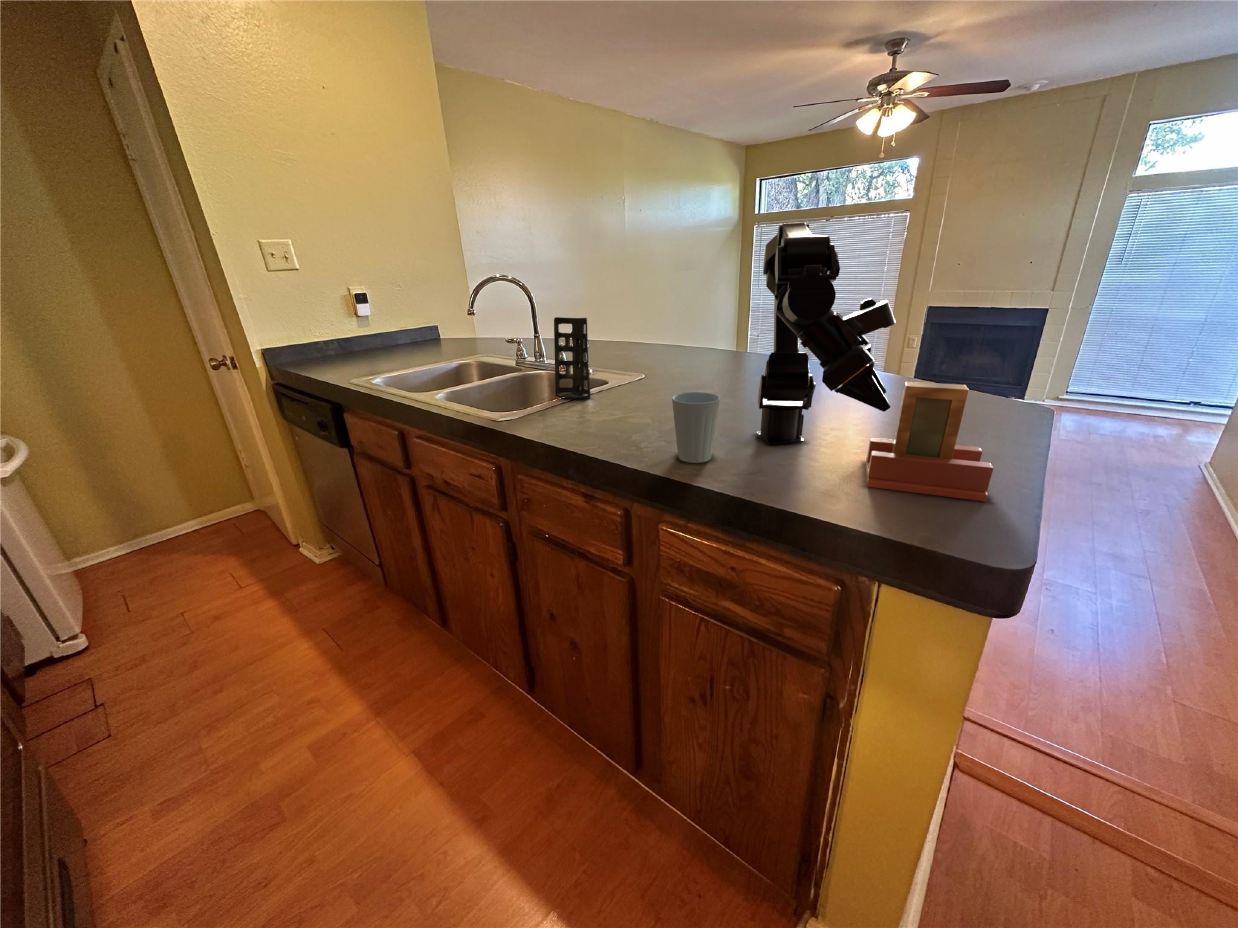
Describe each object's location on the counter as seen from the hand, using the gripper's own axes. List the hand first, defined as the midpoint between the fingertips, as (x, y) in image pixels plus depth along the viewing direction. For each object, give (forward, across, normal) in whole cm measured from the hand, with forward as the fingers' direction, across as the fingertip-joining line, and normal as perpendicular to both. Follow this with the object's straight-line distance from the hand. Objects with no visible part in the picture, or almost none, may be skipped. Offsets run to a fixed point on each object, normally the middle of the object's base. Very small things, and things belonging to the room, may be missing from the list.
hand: (885, 401), depth 69 cm
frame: (+11, -3, +3) cm, 11 cm away
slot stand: (+12, -2, +3) cm, 12 cm away
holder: (-41, +29, +57) cm, 76 cm away
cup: (-12, -4, +27) cm, 30 cm away
